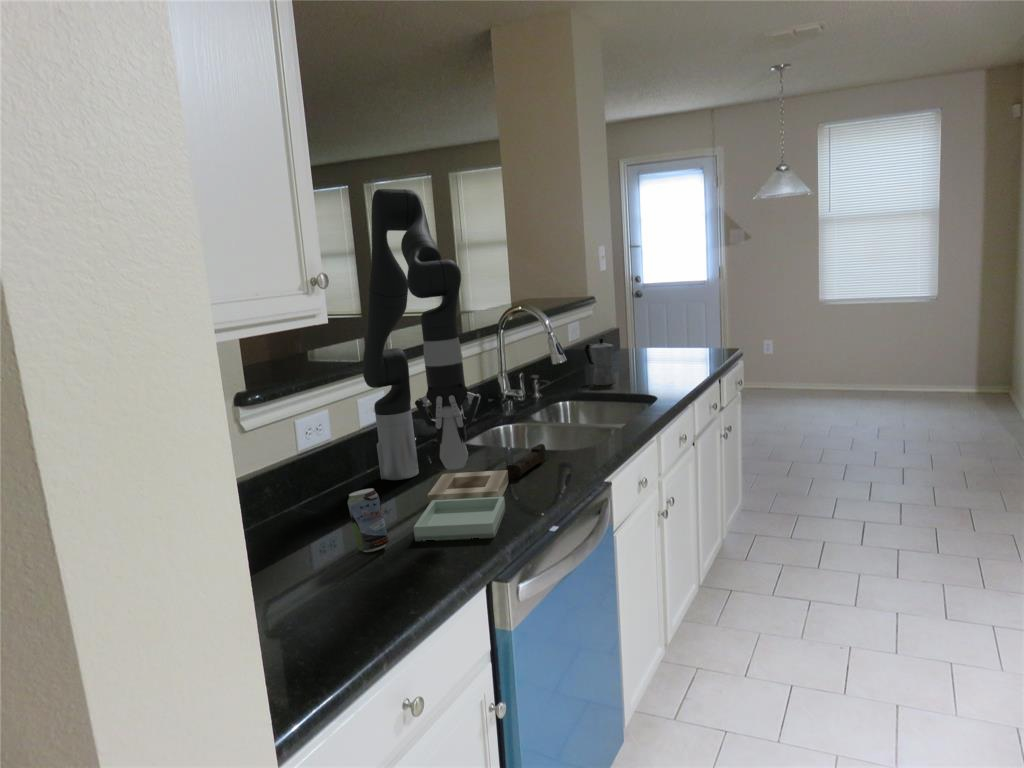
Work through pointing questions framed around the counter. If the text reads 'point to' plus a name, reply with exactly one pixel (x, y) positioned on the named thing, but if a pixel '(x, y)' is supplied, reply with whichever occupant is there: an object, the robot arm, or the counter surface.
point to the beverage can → (367, 520)
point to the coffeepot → (601, 362)
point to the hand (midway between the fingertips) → (453, 444)
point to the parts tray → (460, 519)
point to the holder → (470, 485)
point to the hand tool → (527, 462)
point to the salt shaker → (451, 442)
